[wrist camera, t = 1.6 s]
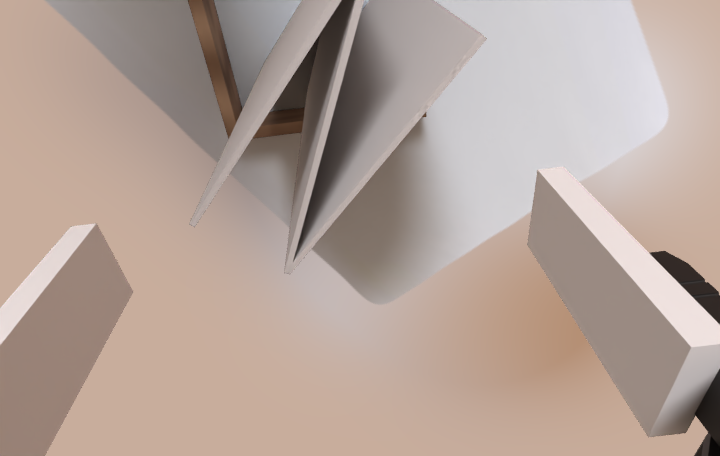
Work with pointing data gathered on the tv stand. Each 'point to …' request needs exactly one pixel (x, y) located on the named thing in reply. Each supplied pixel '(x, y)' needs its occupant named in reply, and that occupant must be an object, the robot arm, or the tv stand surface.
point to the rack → (224, 79)
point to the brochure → (349, 98)
